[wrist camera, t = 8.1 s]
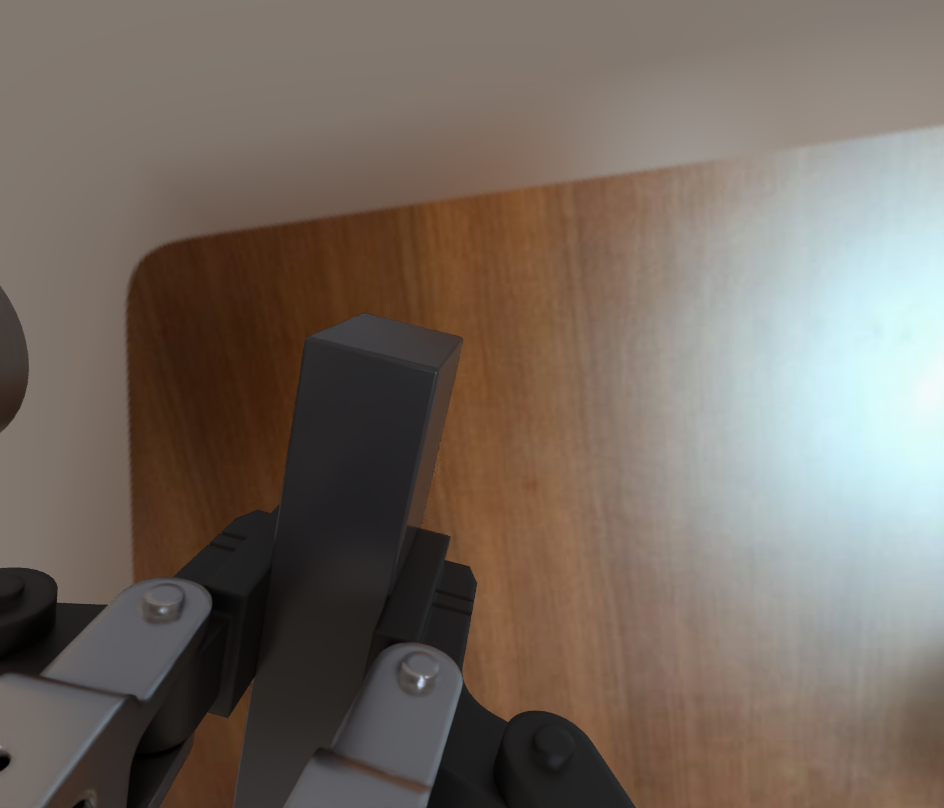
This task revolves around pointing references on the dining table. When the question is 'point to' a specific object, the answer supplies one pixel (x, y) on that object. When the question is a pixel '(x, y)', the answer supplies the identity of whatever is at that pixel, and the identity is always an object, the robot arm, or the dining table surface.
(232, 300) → the dining table surface
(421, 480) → the screwdriver
